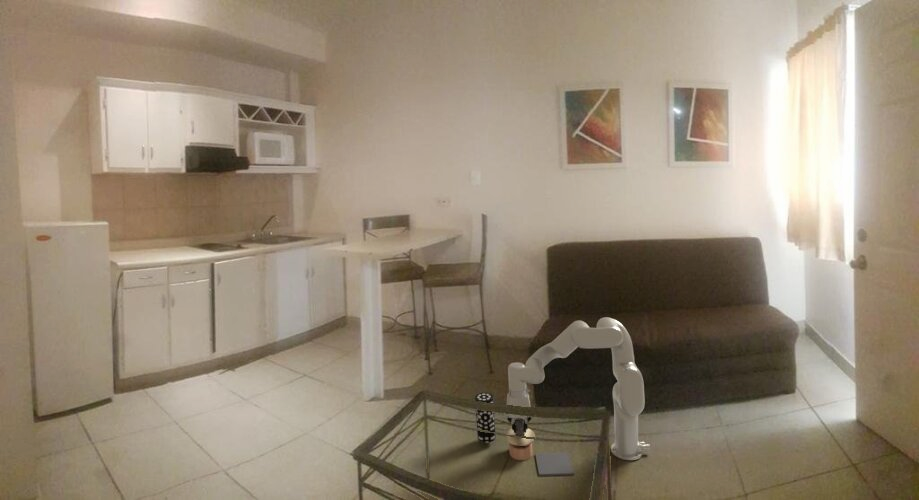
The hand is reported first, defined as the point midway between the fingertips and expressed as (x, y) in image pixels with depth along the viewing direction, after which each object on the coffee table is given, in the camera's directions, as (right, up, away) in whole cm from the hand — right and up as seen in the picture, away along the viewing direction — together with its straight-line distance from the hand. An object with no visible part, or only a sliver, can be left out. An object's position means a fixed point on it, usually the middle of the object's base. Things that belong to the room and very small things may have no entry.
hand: (519, 430), depth 194 cm
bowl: (+1, -11, +2) cm, 11 cm away
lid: (0, -3, 0) cm, 3 cm away
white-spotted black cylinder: (-14, -8, +11) cm, 19 cm away
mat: (+13, -11, -8) cm, 19 cm away
